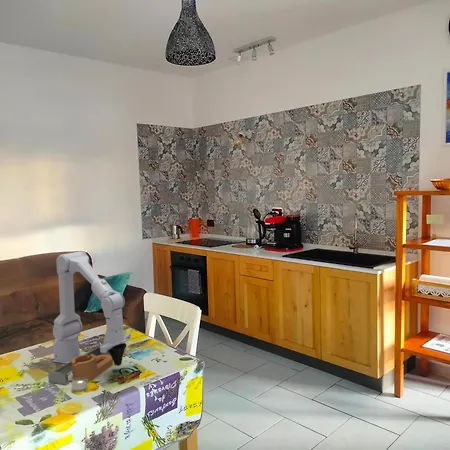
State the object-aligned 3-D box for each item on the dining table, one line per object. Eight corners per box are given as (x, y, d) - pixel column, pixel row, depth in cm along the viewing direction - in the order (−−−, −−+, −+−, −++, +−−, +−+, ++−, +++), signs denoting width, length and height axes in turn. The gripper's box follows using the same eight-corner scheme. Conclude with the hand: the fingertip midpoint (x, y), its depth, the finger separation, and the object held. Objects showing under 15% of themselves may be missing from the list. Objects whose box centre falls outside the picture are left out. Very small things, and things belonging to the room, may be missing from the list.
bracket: (87, 384, 140) (86, 364, 139) (67, 381, 143) (66, 362, 142) (117, 362, 157) (116, 344, 156) (99, 360, 160) (97, 343, 159)
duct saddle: (48, 382, 143) (47, 363, 142) (106, 349, 170) (105, 334, 170) (70, 386, 139) (68, 367, 138) (125, 352, 166) (124, 336, 166)
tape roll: (69, 391, 135) (68, 382, 135) (79, 384, 140) (79, 375, 139) (80, 393, 133) (79, 384, 133) (91, 386, 138) (90, 377, 137)
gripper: (110, 335, 136) (113, 374, 137) (136, 322, 150) (139, 357, 151) (94, 333, 139) (97, 372, 140) (121, 320, 152) (123, 355, 153)
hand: (118, 364), depth 146 cm, fingers closed
